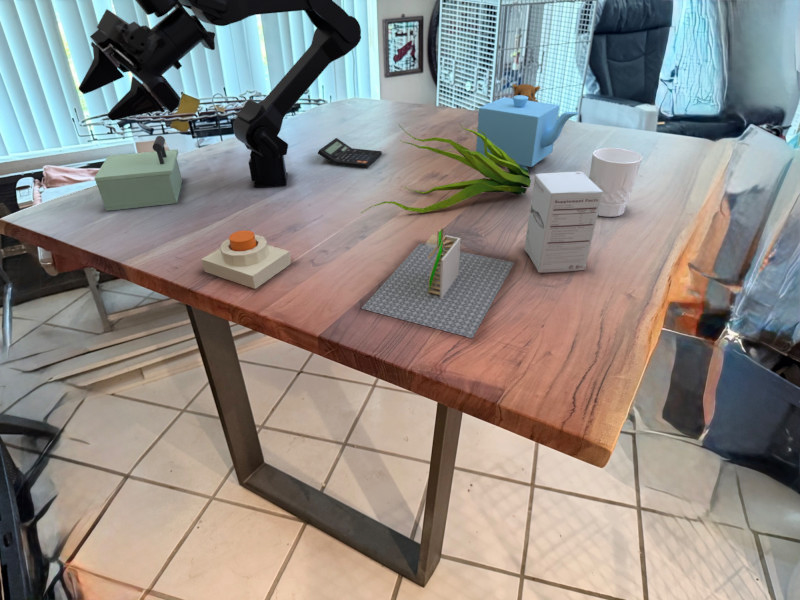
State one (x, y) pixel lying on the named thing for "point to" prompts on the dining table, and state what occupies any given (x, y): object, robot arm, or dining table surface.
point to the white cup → (614, 178)
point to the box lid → (139, 163)
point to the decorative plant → (482, 164)
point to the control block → (247, 263)
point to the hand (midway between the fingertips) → (94, 104)
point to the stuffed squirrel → (526, 91)
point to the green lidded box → (141, 191)
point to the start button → (242, 240)
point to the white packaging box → (562, 221)
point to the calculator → (348, 155)
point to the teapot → (521, 128)
